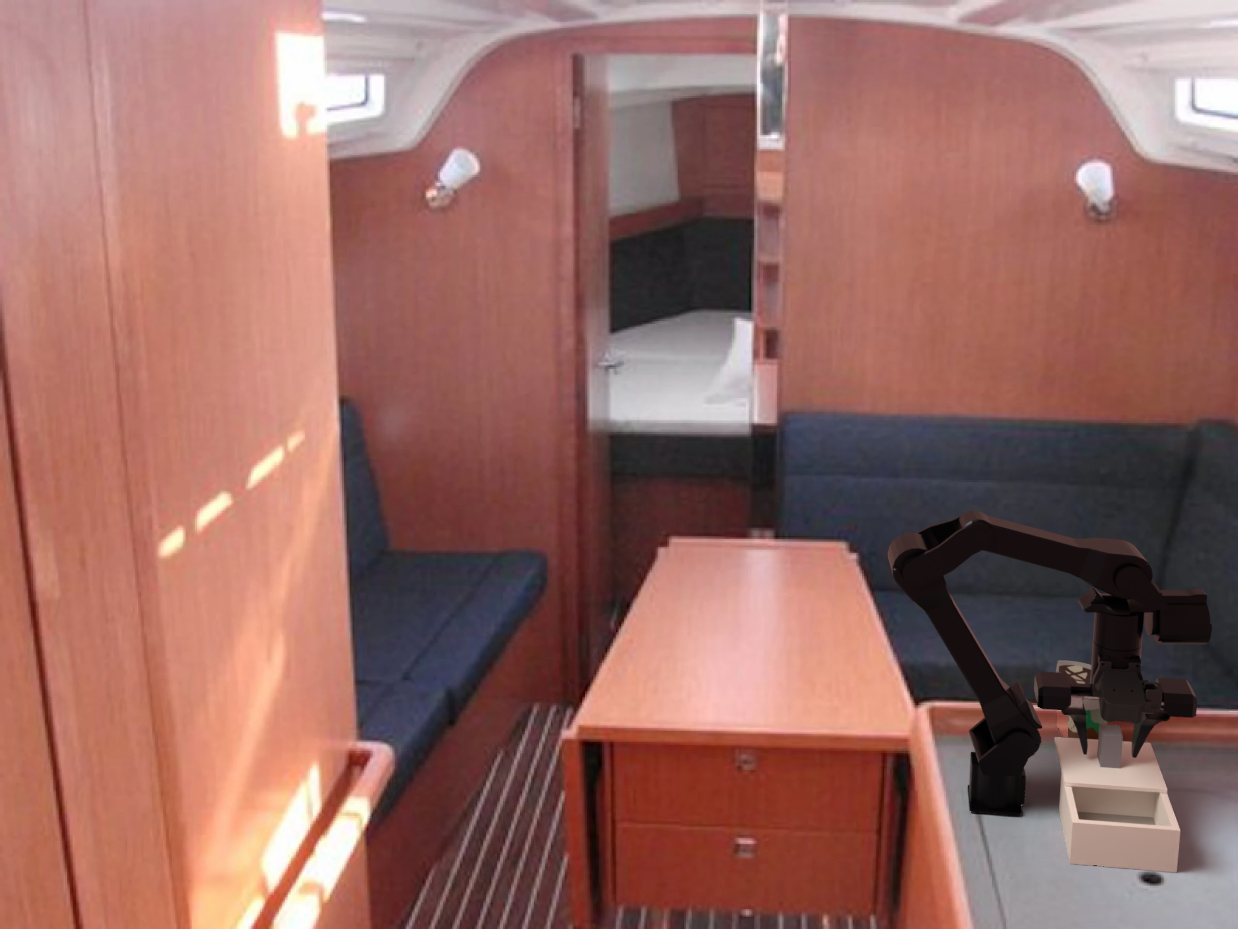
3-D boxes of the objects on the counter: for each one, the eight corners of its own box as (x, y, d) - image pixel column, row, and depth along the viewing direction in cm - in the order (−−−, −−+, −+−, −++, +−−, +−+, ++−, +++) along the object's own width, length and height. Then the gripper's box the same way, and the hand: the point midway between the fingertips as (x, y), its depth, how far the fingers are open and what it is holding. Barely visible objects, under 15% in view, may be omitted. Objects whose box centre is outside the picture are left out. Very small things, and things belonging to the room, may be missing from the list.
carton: (1069, 863, 156) (1072, 822, 155) (1059, 811, 167) (1061, 772, 166) (1176, 872, 154) (1180, 830, 152) (1158, 818, 165) (1161, 779, 163)
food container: (1125, 761, 179) (1130, 695, 176) (1080, 763, 179) (1084, 696, 176) (1095, 720, 191) (1099, 657, 188) (1052, 721, 191) (1056, 658, 188)
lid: (1064, 785, 162) (1066, 749, 161) (1054, 740, 174) (1056, 706, 172) (1167, 793, 160) (1170, 756, 159) (1150, 746, 171) (1152, 711, 170)
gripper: (1045, 665, 157) (1038, 781, 161) (1211, 673, 153) (1200, 792, 157) (1036, 628, 167) (1030, 738, 171) (1192, 636, 163) (1182, 748, 167)
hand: (1109, 754), depth 166 cm, fingers open, 6 cm apart
